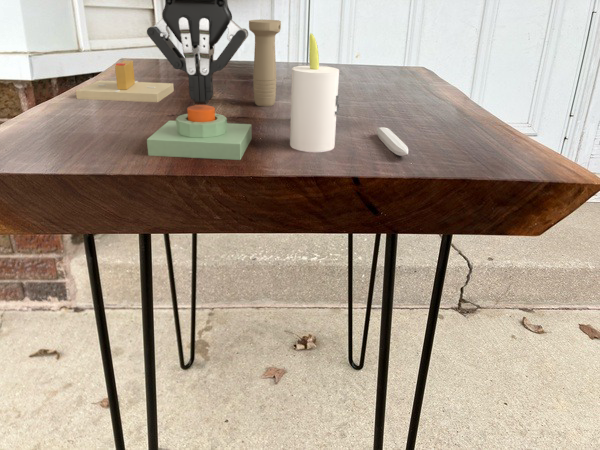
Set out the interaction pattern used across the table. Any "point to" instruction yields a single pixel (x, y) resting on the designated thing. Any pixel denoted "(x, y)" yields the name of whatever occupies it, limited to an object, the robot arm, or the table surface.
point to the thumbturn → (125, 75)
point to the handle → (264, 60)
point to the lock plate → (125, 91)
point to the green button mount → (200, 139)
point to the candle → (314, 104)
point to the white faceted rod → (392, 141)
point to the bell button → (201, 113)
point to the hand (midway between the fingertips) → (201, 102)
